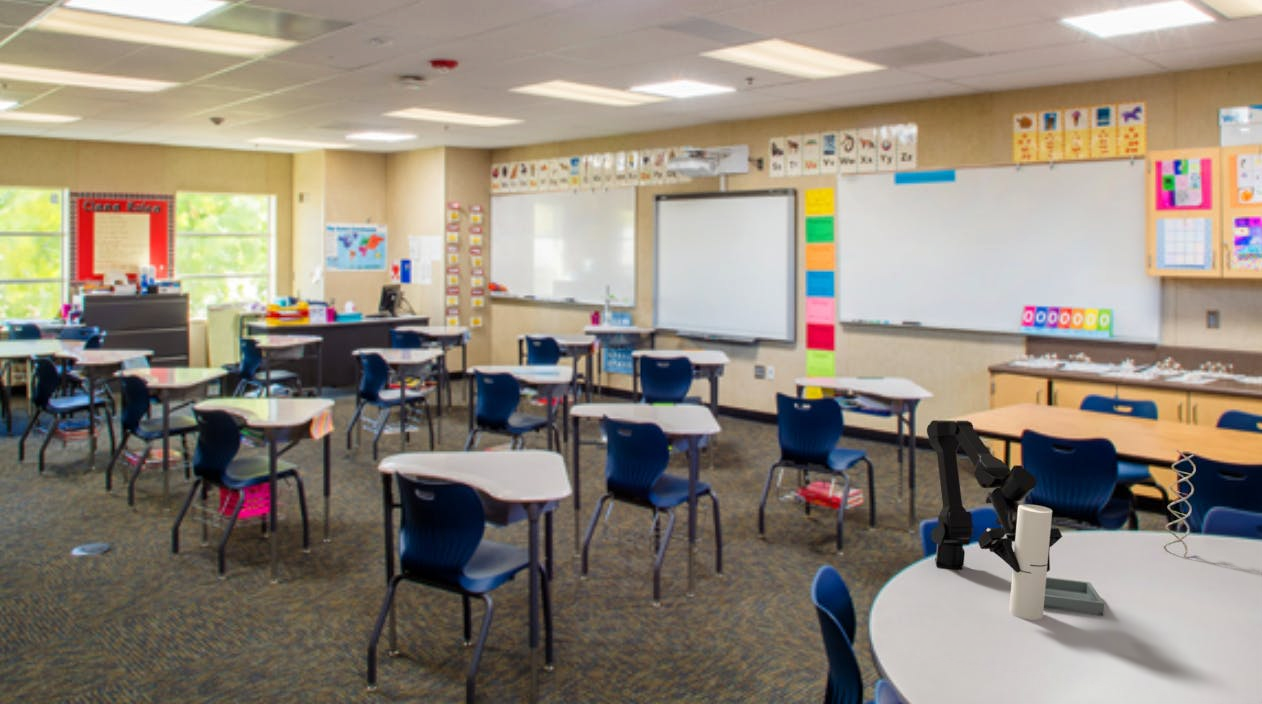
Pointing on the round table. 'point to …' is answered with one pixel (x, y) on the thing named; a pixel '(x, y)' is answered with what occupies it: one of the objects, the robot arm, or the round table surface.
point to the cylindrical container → (1030, 561)
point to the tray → (1072, 596)
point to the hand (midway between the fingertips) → (1033, 571)
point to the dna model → (1180, 501)
